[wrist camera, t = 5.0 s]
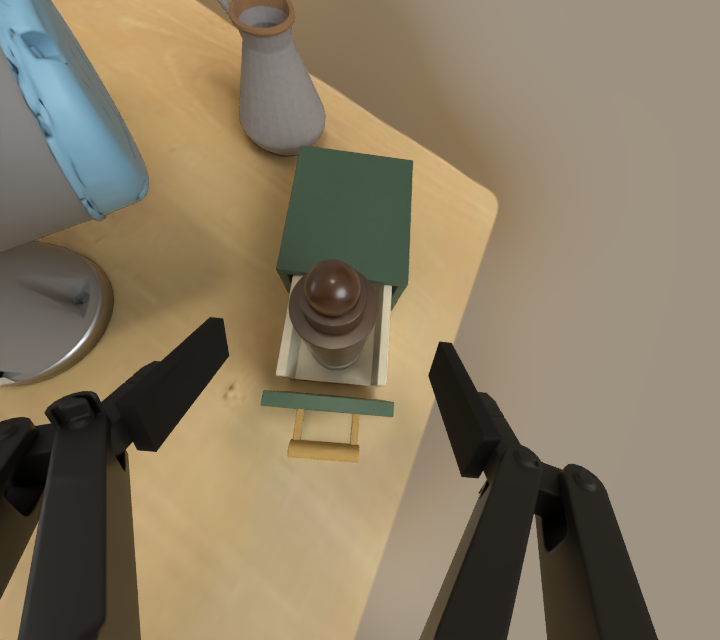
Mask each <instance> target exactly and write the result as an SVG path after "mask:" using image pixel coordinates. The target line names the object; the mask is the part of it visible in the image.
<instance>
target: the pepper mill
mask: <svg viewBox="0 0 720 640" xmlns="http://www.w3.org/2000/svg"><path fill="white" fill-rule="evenodd" d="M288 307H289V316H290V320H291V323H292V325H293V327H294V329H295V330H296V332H297V333H298V334H299V336H300V337H301V339H302V340H303V341H304V343H305V344H306V345H307V347H308V348H309V350H310V351H311V353H312V355H313V356H314V357H315V359H316V360H317V361H318V362H319V363H320V364H321V365H322V366H323V367H325V368H327V369H329V370H334V371H340V370H344V369H347V368H349V367H350V366H351V365H353V364H354V363H355V361H356V360H357V358H358V357H359V355H360V354H361V351H362V349H363V347H364V345H365V343H366V341H367V339H368V337H369V335H370V333H371V331H372V329H373V327H374V325H375V323H376V320H377V316H378V310H379V305H378V298H377V294H376V292H375V290H374V288H373V286H372V284H371V283H370V282H369V280H368V279H367V278H366V277H365V276H363V275H362V274H361V273H359V272H358V271H356V270H355V269H354V268H352V267H351V266H350V265H349V264H347V263H345V262H343V261H340V260H335V259H330V260H325V261H322V262H319V263H318V264H316V265H315V266H314V267H313V268H312V269H311V270H309V271H308V272H307V273H306V274H305V275H304V276H303V277H302V278H301V279H300V280H299V281H298V282H297V283H296V285H295V286H294V288H293V290H292V292H291V295H290V299H289V306H288Z"/></svg>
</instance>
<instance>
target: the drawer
mask: <svg viewBox="0 0 720 640" xmlns="http://www.w3.org/2000/svg"><path fill="white" fill-rule="evenodd" d="M302 277H303V276H300V275H293V278H292V284H291V290H290V295H291V292H292V290H293V288H294V286H295V285H296V283H297V282H298V281H299V280H300V279H301V278H302ZM372 286H373V288H374V290H375V292H376V294H377V298H378V305H379V310H378V316H377V320H376V323H375V325H374V327H373V329H372V331H371V333H370V335H369V337H368V339H367V341H366V343H365V345H364V347H363V349H362V351H361V354H360V355H359V357H358V358H357V360H356V361H355V363H354V364H353V365H351V366H350V367H349V368H347V369H344V370H340V371H334V370H329V369H327V368H325V367H323V366H322V365H321V364H320V363H319V362H318V361H317V360H316V359H315V357H314V356H313V355H312V353H311V351H310V350H309V348H308V347H307V345H306V344H305V343H304V341H303V340H302V339H301V337H300V336H299V334H298V333H297V332H296V330H295V329H294V327H293V325H292V323H291V320H290V316H289V307H287V312H286V318H285V324H284V329H283V335H282V341H281V346H280V352H279V358H278V363H277V369H276V375H277V376H281V377H285V378H289V379H298V380H309V381H320V382H331V383H341V384H352V385H363V386H374V387H378V386H385V385H386V381H387V364H388V347H389V329H390V312H391V295H392V286H389V285H380V284H372ZM290 295H289V299H290ZM288 306H289V301H288ZM261 406H272V407H283V408H294V409H297V414H296V420H295V427H294V434H293V439H291V440H290V443H289V447H288V457H292V458H305V459H317V460H330V461H343V462H355V463H357V462H358V459H359V445H357V440H358V428H359V415H360V414H363V415H374V416H385V417H393V411H394V402H390V401H385V400H378V399H367V398H356V397H345V396H334V395H323V394H312V393H301V392H290V391H272V390H264V391H263V395H262V401H261ZM305 409H306V410H317V411H329V412H340V413H351V414H353V416H352V427H351V438H350V444H345V443H332V442H320V441H308V440H300V439H301V431H302V424H303V417H304V410H305Z"/></svg>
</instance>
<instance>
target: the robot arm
mask: <svg viewBox="0 0 720 640" xmlns="http://www.w3.org/2000/svg"><path fill="white" fill-rule="evenodd" d="M148 189H149V177H148V173H147V169H146V167H145V164H144V161H143V159H142V157H141V154H140V152H139V150H138V148H137V146H136V144H135V142H134V140H133V138H132V136H131V134H130V132H129V130H128V128H127V126H126V124H125V122H124V120H123V118H122V117H121V115H120V113H119V111H118V109H117V107H116V106H115V104H114V102H113V100H112V98H111V97H110V95H109V93H108V91H107V90H106V88H105V86H104V84H103V83H102V81H101V79H100V78H99V76H98V74H97V72H96V71H95V69H94V67H93V66H92V64H91V62H90V61H89V59H88V57H87V56H86V54H85V53H84V51H83V49H82V48H81V46H80V44H79V43H78V41H77V40H76V38H75V36H74V35H73V33H72V32H71V30H70V29H69V27H68V25H67V24H66V22H65V21H64V19H63V18H62V16H61V15H60V13H59V12H58V10H57V9H56V7H55V6H54V4H53V3H52V1H51V0H0V386H22V385H28V384H34V383H37V382H41V381H44V380H47V379H49V378H52V377H54V376H56V375H58V374H60V373H62V372H64V371H66V370H67V369H69V368H70V367H72V366H73V365H75V364H76V363H77V362H79V361H80V360H81V359H82V358H83V357H85V356H86V355H87V354H88V353H89V352H90V351H91V350H92V349H93V347H94V346H95V345H96V344H97V342H98V341H99V340H100V338H101V337H102V335H103V333H104V332H105V330H106V328H107V326H108V323H109V321H110V318H111V314H112V309H113V291H112V287H111V284H110V281H109V280H108V278H107V276H106V274H105V273H104V272H103V271H102V269H101V268H100V267H98V266H97V265H96V264H95V263H93V262H92V261H90V260H88V259H86V258H85V257H83V256H81V255H79V254H77V253H75V252H73V251H71V250H69V249H66V248H63V247H60V246H55V245H51V244H47V243H42V242H38V241H34V240H35V239H38V238H41V237H44V236H47V235H50V234H52V233H55V232H58V231H61V230H64V229H66V228H69V227H72V226H75V225H78V224H80V223H83V222H86V221H89V220H92V219H94V220H97V221H101V220H104V219H105V218H106V215H107V214H110V213H112V212H114V211H117V210H119V209H122V208H124V207H127V206H129V205H132V204H134V203H137V202H138V201H140V200H142V199H143V198H144V197H145V196H146V194H147V192H148ZM228 357H229V351H228V345H227V339H226V333H225V327H224V321H223V318H213V317H210V318H209V319H207V320H206V321H205V322H204V323H203V324H202V325H201V326H200V327H199V328H197V329H196V330H195V331H194V332H193V333H192V334H191V335H190V336H189V337H187V338H186V339H185V340H184V341H183V342H182V343H181V344H180V345H179V346H178V347H176V348H175V349H174V350H173V351H172V352H171V353H170V354H169V355H168V356H166V357H165V358H164V359H163V360H162V361H153V362H152V363H150V364H148V365H146V366H144V367H142V368H141V369H140V370H138V371H137V372H136V373H135V374H134V375H133V377H130V378H129V379H128V380H127V381H126V383H123V384H122V385H121V386H120V387H119V388H117V389H116V390H115V391H114V392H113V393H112V394H110V395H109V396H108V397H107V398H106V399H104V400H103V401H102V402H101V401H100V399H99V397H98V395H97V394H96V393H94V392H92V391H82V392H77V393H73V394H70V395H67V396H65V397H63V398H61V399H59V400H57V401H55V402H54V403H53V404H51V405H50V406H49V407H48V408H47V410H46V411H45V415H46V416H47V418H48V419H49V420H50V422H51V423H52V424H45V425H38V426H35V425H34V424H33V423H32V421H31V420H30V419H29V418H25V417H19V418H12V419H8V420H5V421H1V422H0V599H1V597H2V595H3V593H4V591H5V589H6V587H7V585H8V583H9V581H10V579H11V577H12V574H13V572H14V570H15V568H16V566H17V564H18V562H19V560H20V558H21V556H22V554H23V552H24V550H25V548H26V546H27V544H28V542H29V540H30V538H31V535H32V533H33V531H34V529H35V527H36V525H37V523H38V521H39V524H38V529H37V535H36V541H35V546H34V552H33V557H32V563H31V568H30V574H29V580H28V585H27V591H26V596H25V602H24V607H23V613H22V619H21V624H20V630H19V635H18V640H141V635H140V620H139V606H138V591H137V576H136V562H135V547H134V533H133V518H132V504H131V489H130V475H129V460H128V453H127V451H126V449H127V448H128V446H129V445H130V444H131V443H132V442H134V444H135V446H136V448H137V450H141V451H153V452H157V450H158V449H159V448H160V446H161V445H162V444H163V442H164V441H165V440H166V438H167V437H168V436H169V434H170V433H171V432H172V430H173V429H174V428H175V426H176V425H177V424H178V423H179V421H180V420H181V419H182V417H183V416H184V415H185V413H186V412H187V411H188V409H189V408H190V407H191V405H192V404H193V403H194V401H195V400H196V399H197V397H198V396H199V395H200V394H201V392H202V391H203V390H204V388H205V387H206V386H207V384H208V383H209V382H210V380H211V379H212V378H213V376H214V375H215V374H216V372H217V371H218V370H219V368H220V367H221V366H222V365H223V363H224V362H225V361H226V359H227V358H228ZM428 376H429V379H430V382H431V385H432V388H433V391H434V394H435V397H436V400H437V403H438V407H439V409H440V413H441V416H442V419H443V422H444V425H445V428H446V431H447V434H448V437H449V440H450V443H451V446H452V449H453V452H454V455H455V458H456V461H457V464H458V467H459V470H460V474H461V476H462V477H469V478H479V476H480V475H481V473H482V471H484V473H485V475H486V478H487V481H486V482H485V484H484V485H483V487H482V488H481V490H480V492H479V494H480V496H479V498H478V500H477V503H476V505H475V508H474V510H473V513H472V515H471V517H470V520H469V522H468V524H467V527H466V529H465V532H464V534H463V536H462V539H461V541H460V543H459V546H458V548H457V551H456V553H455V556H454V558H453V560H452V563H451V565H450V567H449V570H448V572H447V575H446V577H445V579H444V582H443V584H442V587H441V589H440V592H439V594H438V596H437V599H436V601H435V603H434V606H433V608H432V611H431V613H430V616H429V618H428V620H427V623H426V625H425V627H424V630H423V632H422V635H421V637H420V639H419V640H507V636H508V631H509V626H510V621H511V617H512V613H513V608H514V603H515V599H516V594H517V589H518V585H519V580H520V575H521V571H522V565H523V561H524V557H525V552H526V547H527V543H528V538H529V533H530V529H531V524H532V519H533V515H534V514H535V518H536V528H537V538H538V549H539V559H540V569H541V578H542V579H541V580H542V590H543V601H544V611H545V621H546V632H547V640H658V638H657V635H656V632H655V629H654V627H653V624H652V621H651V618H650V615H649V612H648V609H647V606H646V604H645V601H644V598H643V595H642V592H641V589H640V586H639V583H638V580H637V578H636V575H635V572H634V569H633V566H632V563H631V560H630V557H629V555H628V552H627V549H626V546H625V543H624V540H623V537H622V534H621V531H620V529H619V526H618V523H617V520H616V517H615V514H614V511H613V508H612V506H611V503H610V500H609V497H608V494H607V491H606V489H605V487H604V485H603V484H602V482H601V481H600V480H599V479H598V478H597V477H596V476H595V475H594V474H593V473H591V472H590V471H589V470H587V469H585V468H583V467H582V466H579V465H576V464H568V465H567V466H566V467H565V468H564V469H563V470H561V469H559V468H556V467H554V466H551V465H548V464H545V463H543V462H541V461H540V459H539V458H538V457H537V456H536V454H535V453H534V452H532V451H531V450H530V449H528V448H527V447H525V446H522V445H521V444H520V443H519V441H518V439H517V438H516V436H515V434H514V432H513V431H512V429H511V427H510V426H509V424H508V422H507V421H506V419H505V418H504V416H503V414H502V412H501V411H500V409H499V407H498V406H497V404H496V402H495V401H494V400H493V399H492V398H491V397H490V396H489V395H488V394H487V393H483V392H477V390H476V388H475V386H474V384H473V382H472V380H471V379H470V377H469V375H468V373H467V371H466V369H465V367H464V365H463V364H462V362H461V360H460V358H459V356H458V354H457V353H456V350H455V349H454V347H453V345H452V343H448V342H439V344H438V347H437V350H436V354H435V357H434V360H433V363H432V366H431V369H430V372H429V375H428Z"/></svg>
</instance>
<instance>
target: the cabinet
mask: <svg viewBox="0 0 720 640" xmlns="http://www.w3.org/2000/svg"><path fill="white" fill-rule="evenodd" d="M412 171H413V161H412V160H405V159H398V158H391V157H383V156H376V155H369V154H361V153H354V152H347V151H339V150H332V149H325V148H317V147H310V146H303V145H301V147H300V152H299V157H298V162H297V167H296V172H295V177H294V182H293V187H292V192H291V197H290V202H289V207H288V212H287V217H286V222H285V227H284V232H283V238H282V243H281V248H280V253H279V258H278V263H277V268H276V270H277V272H278V274H279V276H280V278H281V279H282V281H283V283H284V285H285V287H286V289H287V291H288V293H289V295H290V290H291V284H292V278H293V275H300V276H304V275H305V274H306V273H307V272H308V271H309V270H311V269H312V268H313V267H314V266H315V265H316V264H318V263H319V262H322V261H325V260H330V259H335V260H340V261H343V262H345V263H347V264H349V265H350V266H351V267H352V268H354V269H355V270H356V271H358V272H359V273H361V274H362V275H363V276H365V277H366V278H367V279H368V280H369V282H370V283H371V284H380V285H389V286H392V295H391V311H392V309H393V307H394V306H395V304H396V302H397V301H398V299H399V298H400V296H401V294H402V293H403V291H404V290H405V288H406V287H407V285H408V274H409V248H410V223H411V197H412Z"/></svg>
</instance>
